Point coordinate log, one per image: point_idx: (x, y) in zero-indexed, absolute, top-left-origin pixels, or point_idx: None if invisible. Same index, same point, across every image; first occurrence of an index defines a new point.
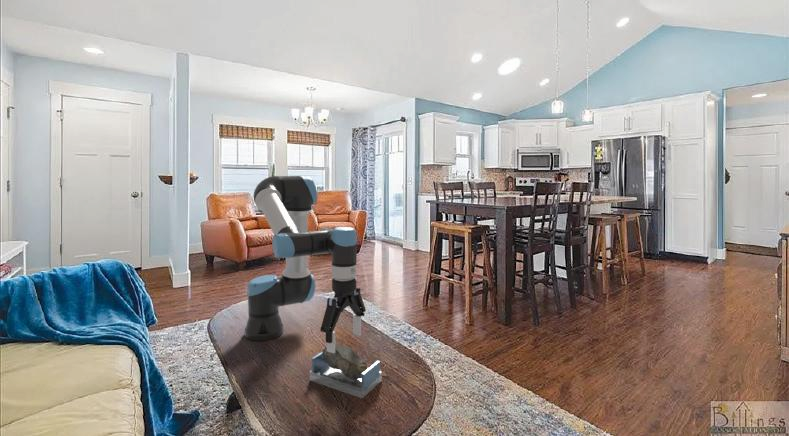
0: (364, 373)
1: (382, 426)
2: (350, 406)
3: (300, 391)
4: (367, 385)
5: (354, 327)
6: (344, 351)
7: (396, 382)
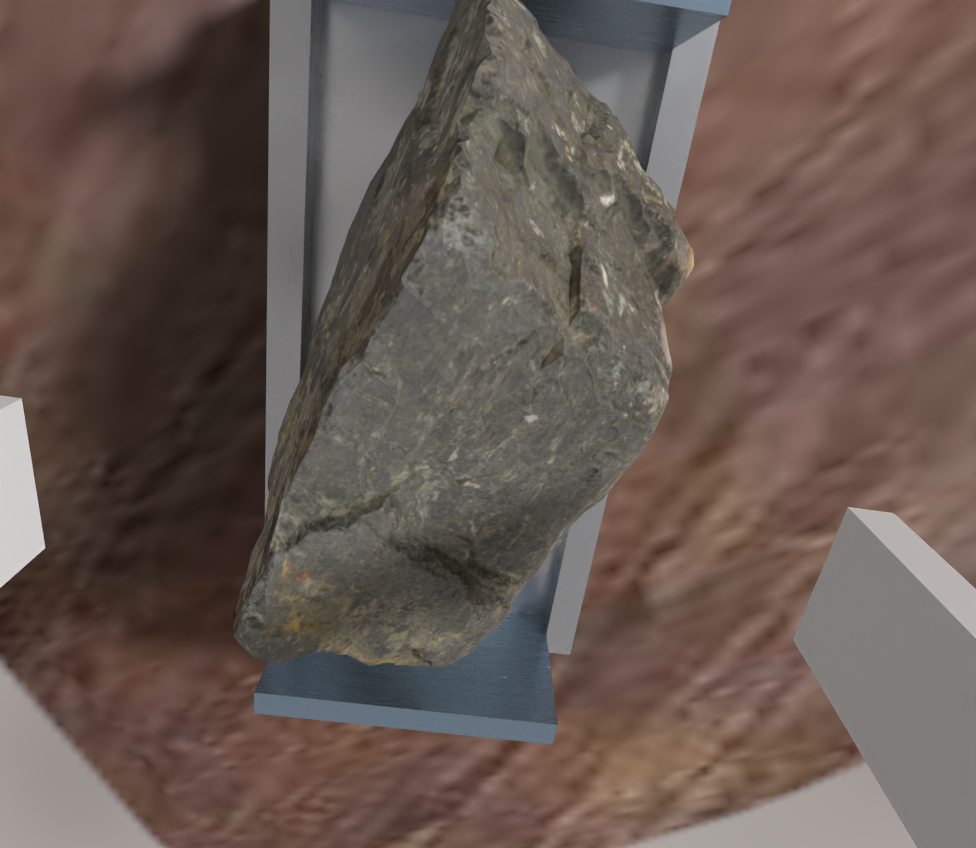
0: (270, 713)
1: (113, 761)
2: (165, 540)
3: (89, 13)
4: None
5: (933, 649)
6: (445, 452)
7: (579, 690)
